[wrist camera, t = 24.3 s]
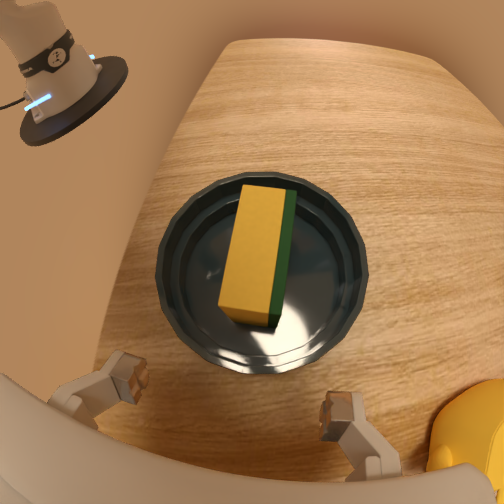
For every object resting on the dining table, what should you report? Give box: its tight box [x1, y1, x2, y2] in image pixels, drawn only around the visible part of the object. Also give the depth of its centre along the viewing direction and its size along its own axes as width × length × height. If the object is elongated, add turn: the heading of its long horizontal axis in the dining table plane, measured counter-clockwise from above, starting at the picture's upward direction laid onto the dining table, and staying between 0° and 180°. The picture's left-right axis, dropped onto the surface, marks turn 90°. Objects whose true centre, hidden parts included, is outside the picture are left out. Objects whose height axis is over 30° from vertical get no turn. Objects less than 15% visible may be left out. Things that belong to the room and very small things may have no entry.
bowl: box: [155, 172, 369, 374], centre depth 24 cm, size 17×17×5 cm
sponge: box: [218, 185, 297, 328], centre depth 22 cm, size 4×9×8 cm, turn 170°
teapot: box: [426, 379, 504, 504], centre depth 13 cm, size 22×16×11 cm
